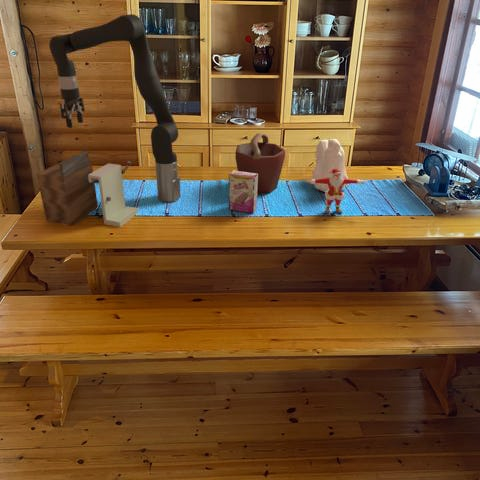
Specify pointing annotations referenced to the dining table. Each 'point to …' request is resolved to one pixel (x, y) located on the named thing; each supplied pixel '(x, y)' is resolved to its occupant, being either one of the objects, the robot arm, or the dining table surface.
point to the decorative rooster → (328, 162)
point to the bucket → (261, 162)
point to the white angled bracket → (112, 195)
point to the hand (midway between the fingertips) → (75, 125)
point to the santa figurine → (335, 188)
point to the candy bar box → (243, 191)
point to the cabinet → (68, 190)
